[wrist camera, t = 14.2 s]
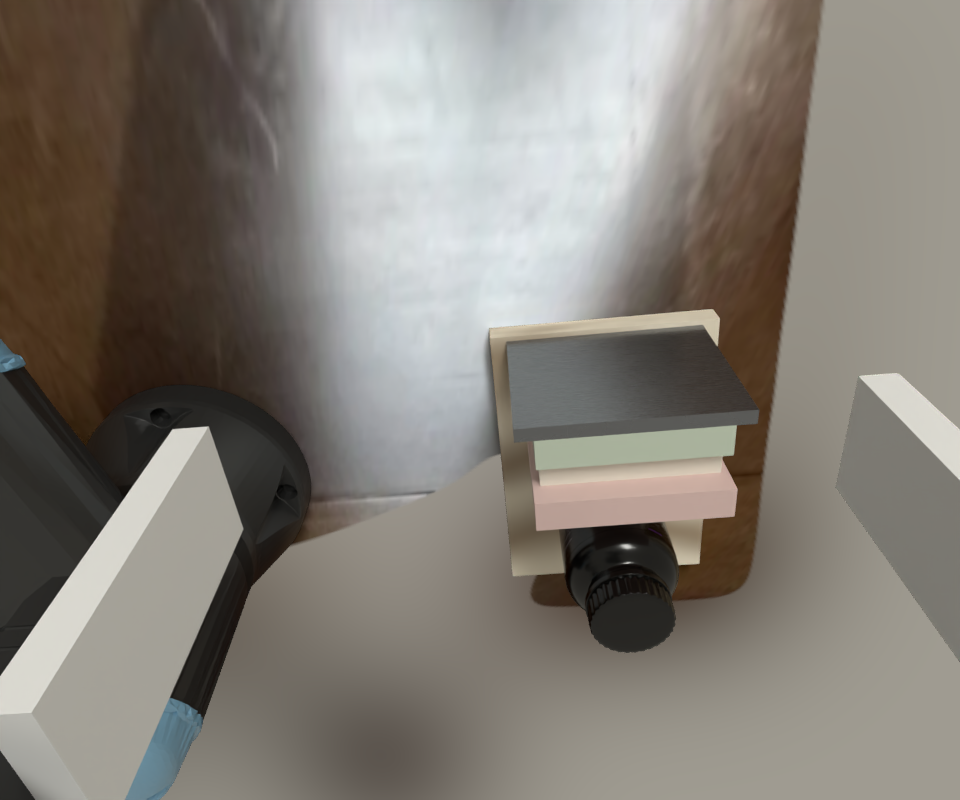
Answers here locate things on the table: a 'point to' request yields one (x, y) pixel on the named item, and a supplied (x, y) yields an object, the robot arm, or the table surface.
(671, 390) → the bookend
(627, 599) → the supplement bottle
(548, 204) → the table surface
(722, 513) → the book row
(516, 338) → the shelf board
